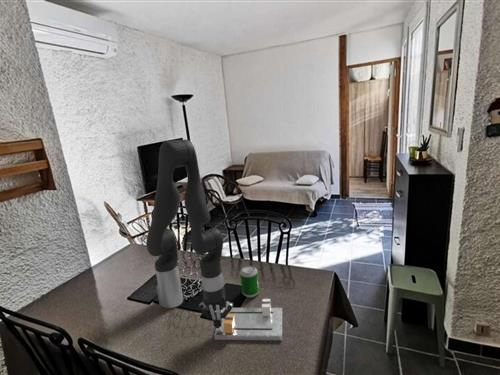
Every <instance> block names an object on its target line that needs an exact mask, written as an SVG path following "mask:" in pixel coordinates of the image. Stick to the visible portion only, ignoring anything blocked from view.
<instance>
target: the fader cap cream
mask: <svg viewBox="0 0 500 375" xmlns="http://www.w3.org/2000/svg"><path fill="white" fill-rule="evenodd" d="M271 302H272V301H271V298H262V301H261V308H262V316H270V315H271V308H272V304H271Z"/></svg>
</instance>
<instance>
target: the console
mask: <svg viewBox="0 0 500 375" xmlns="http://www.w3.org/2000/svg"><path fill="white" fill-rule="evenodd" d="M225 309H226V307H224V308H223V309H222V313H223V312H224V310H225ZM228 314H234V318H235V326H234V330H233V333H225V332H224V324H223V323H224V320H225V319H223V318H222V326H221V327H220V328H216V327H215V332H214V334H213V335H214V340H218V341H219V340H222V341H223V340H226V341H229V340H230V341H231V340H232V341H283V307H271V315H270V316H262V307H232V309H231V311H230V312H229V313H228Z"/></svg>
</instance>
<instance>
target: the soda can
mask: <svg viewBox="0 0 500 375" xmlns="http://www.w3.org/2000/svg"><path fill="white" fill-rule="evenodd" d="M239 275H240V283H241V286H240V287H241V294H243V296H245V297H246V298H254V297H256V296H257V295H258V294H259V292H260V286H259V274H258V269H257V268H256V267H255V266H253V265H246V266H244V267H242V268H241V270H240V272H239Z"/></svg>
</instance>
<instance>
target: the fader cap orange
mask: <svg viewBox="0 0 500 375" xmlns="http://www.w3.org/2000/svg"><path fill="white" fill-rule="evenodd" d="M224 319H225V320H224V323H223V324H224V332H225V333H233V330H234V326H235V318H234V314H228V315H227V316H226V317H225V318H224Z"/></svg>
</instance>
